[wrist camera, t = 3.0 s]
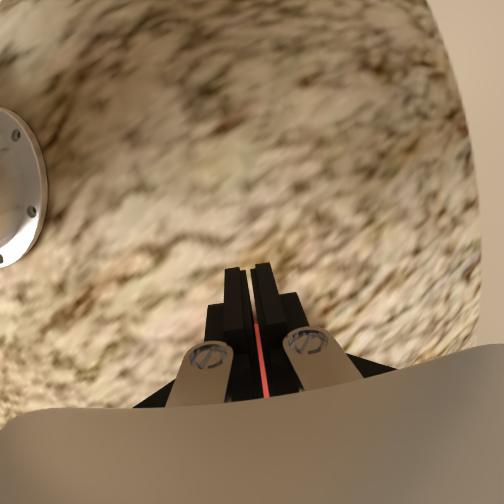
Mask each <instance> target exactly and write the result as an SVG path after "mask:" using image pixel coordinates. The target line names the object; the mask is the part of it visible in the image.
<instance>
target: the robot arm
mask: <svg viewBox="0 0 504 504" xmlns="http://www.w3.org/2000/svg"><path fill="white" fill-rule="evenodd" d="M47 200H48V182H47V175H46V167H45V163H44V159H43V155H42V152H41V149H40V146H39V144H38V142H37V140H36V137H35V135H34V134H33V132H32V131H31V129H30V128H29V126H28V125H27V123H26V122H25V121H24V120H23V119H22V118H21V117H20V116H19V115H17V114H16V113H14V112H12V111H10V110H9V109H6V108H1V107H0V268H3V267H7V266H10V265H12V264H14V263H15V262H17V261H18V260H20V259H21V258H22V257H23V256H24V255H25V254H27V253H28V252H29V251H30V249H31V248H32V246H33V245H34V244H35V242H36V240H37V238H38V236H39V234H40V232H41V230H42V226H43V223H44V219H45V216H46V208H47ZM255 267H256V268H254V269H250V272H251V279H252V286H253V293H254V300H255V307H256V314H257V321H258V327H259V334H260V340H261V347H262V353H263V360H264V366H265V372H266V379H267V385H268V391H269V398H264V393H263V385H262V377H261V370H260V362H259V354H258V347H257V339H256V332H255V326H254V319H253V313H252V307H251V301H250V295H249V288H248V282H247V276H246V270H241V271H240V268H239V267H235V268H228V269H225V279H224V303H220V304H212V305H208V309H207V318H206V328H205V338H204V342H203V343H199V344H197V345H195V346H193V347H192V348H191V349H190V350H188V351H187V353H186V354H185V356H184V358H183V361H182V364H181V366H180V369H179V371H178V374H177V377H176V379H174V380H173V381H171V382H170V383H169V384H167V385H166V386H164V387H163V388H161V389H160V390H158V391H157V392H155V393H154V394H152V395H151V396H149V397H148V398H146V399H145V400H143V401H142V402H140V403H139V404H137V405H136V406H134V407H133V408H48V409H41V410H35V411H31V412H27V413H24V414H21V415H18V416H16V417H14V418H12V419H11V420H9V421H8V422H7V423H6V424H5V425H4V426H3V427H2V429H1V430H0V504H504V344H488V345H482V346H476V347H471V348H467V349H464V350H460V351H456V352H453V353H450V354H447V355H444V356H440V357H437V358H434V359H431V360H427V361H424V362H421V363H418V364H414V365H411V366H408V367H405V368H401V369H395V368H392V367H389V366H385V365H382V364H379V363H376V362H372V361H369V360H366V359H363V358H360V357H356V356H353V355H350V354H347V353H345V352H344V351H343V349H342V348H341V347H340V345H339V344H338V343H337V341H336V340H335V339H334V337H333V336H332V335H331V334H330V333H329V332H328V331H327V330H325V329H322V328H319V327H310V326H309V324H308V321H307V318H306V316H305V313H304V311H303V308H302V305H301V303H300V300H299V298H298V295H297V293H296V292H293V293H287V294H280V295H279V293H278V290H277V286H276V283H275V279H274V276H273V272H272V269H271V265H270V262H268V263H261V264H255Z"/></svg>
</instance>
